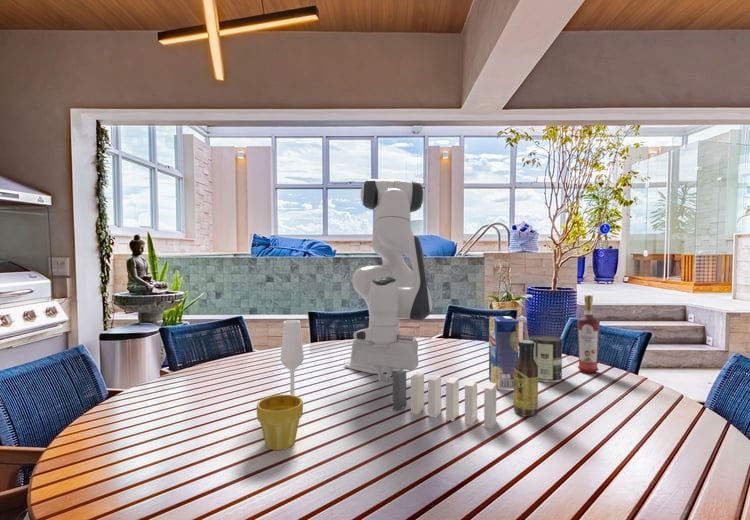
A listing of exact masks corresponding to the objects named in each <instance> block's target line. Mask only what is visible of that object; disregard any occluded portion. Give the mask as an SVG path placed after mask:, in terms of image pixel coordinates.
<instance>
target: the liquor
mask: <svg viewBox="0 0 750 520" xmlns="http://www.w3.org/2000/svg"><path fill="white" fill-rule="evenodd" d="M593 299H594V296H593V295H589V294H588V295H587V294H586V295H584V313H583V316H582V317H579V318H578V319H577V340H578V341H577V343H578V366H577V368H578V369H579V371H580V372H581V373H584V374H590V375H591V374H592V373H593V374H595V373H596V372H598V371H599V367H598V359H599V358H598V357H599V342H600V341H599V339H600V325H601V323H600V320H599V319H597V318H596V317H594V310H593Z"/></svg>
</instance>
